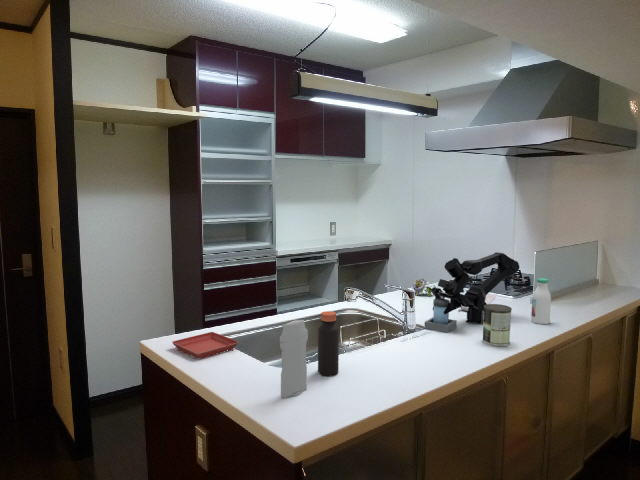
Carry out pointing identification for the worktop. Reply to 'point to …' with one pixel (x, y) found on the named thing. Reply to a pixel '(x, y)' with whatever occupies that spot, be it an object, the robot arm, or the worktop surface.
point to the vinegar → (328, 345)
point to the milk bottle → (541, 303)
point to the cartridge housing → (440, 325)
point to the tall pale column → (293, 358)
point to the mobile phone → (488, 300)
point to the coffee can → (496, 324)
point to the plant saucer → (205, 344)
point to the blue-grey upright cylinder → (440, 311)
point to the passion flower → (421, 286)
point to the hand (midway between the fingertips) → (438, 311)
